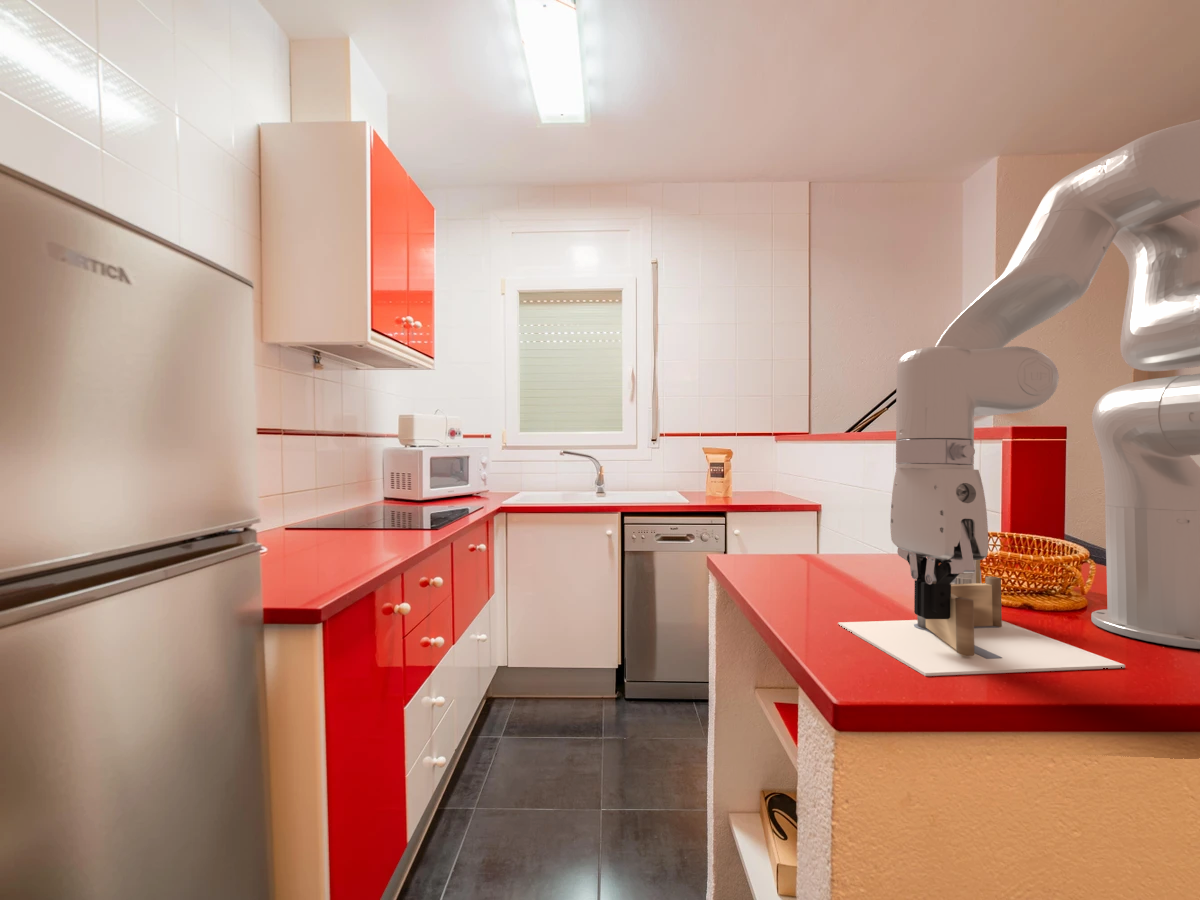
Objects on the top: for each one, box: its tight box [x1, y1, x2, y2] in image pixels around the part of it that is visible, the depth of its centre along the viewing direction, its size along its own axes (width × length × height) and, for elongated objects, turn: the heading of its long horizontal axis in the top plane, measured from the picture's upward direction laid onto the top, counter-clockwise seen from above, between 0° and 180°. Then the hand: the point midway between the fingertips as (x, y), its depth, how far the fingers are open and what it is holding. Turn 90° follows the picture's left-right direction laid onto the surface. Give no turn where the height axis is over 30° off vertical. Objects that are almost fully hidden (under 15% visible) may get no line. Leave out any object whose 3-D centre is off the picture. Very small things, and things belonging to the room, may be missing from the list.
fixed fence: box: [916, 575, 1003, 629], centre depth 65 cm, size 11×2×7 cm, turn 95°
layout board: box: [837, 619, 1126, 677], centre depth 60 cm, size 22×16×1 cm
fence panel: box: [926, 594, 974, 656], centre depth 59 cm, size 9×2×6 cm, turn 169°
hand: (932, 616), depth 58 cm, fingers closed
